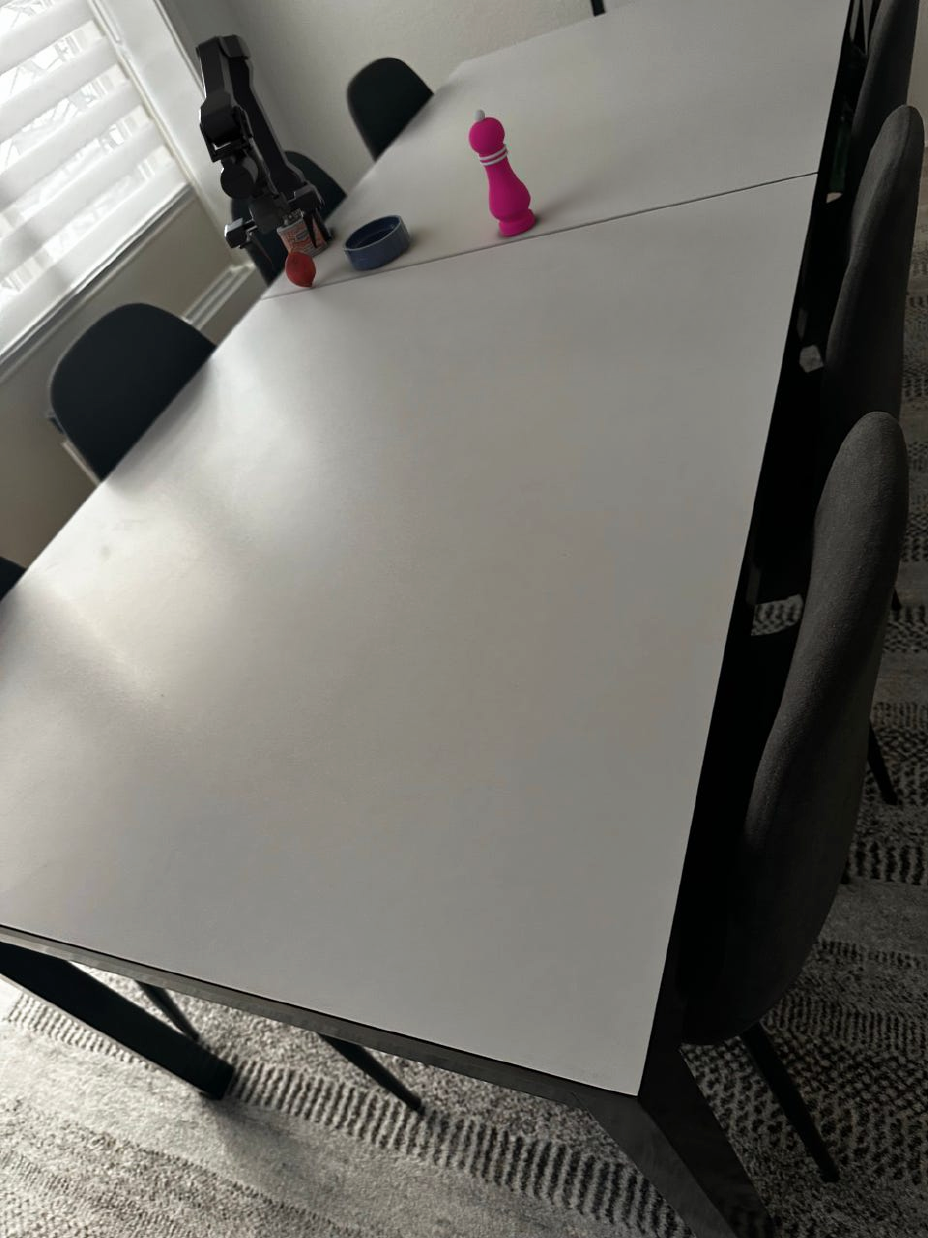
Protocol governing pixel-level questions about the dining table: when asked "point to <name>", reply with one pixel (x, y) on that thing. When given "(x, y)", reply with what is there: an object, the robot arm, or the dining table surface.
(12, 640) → the dining table surface
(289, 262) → the onion
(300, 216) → the lighter
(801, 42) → the dining table surface
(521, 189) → the pepper mill
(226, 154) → the robot arm
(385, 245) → the bowl
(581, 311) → the dining table surface
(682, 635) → the dining table surface
